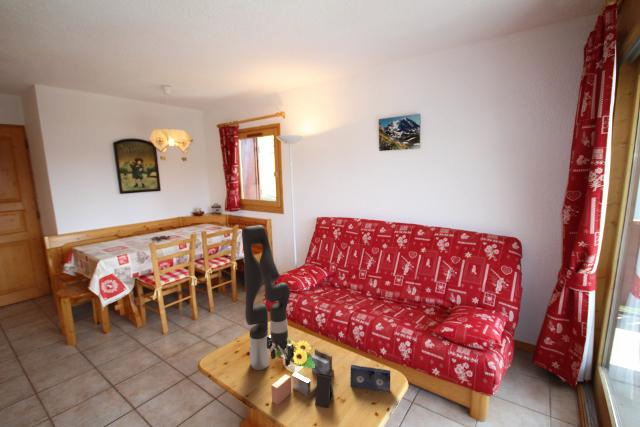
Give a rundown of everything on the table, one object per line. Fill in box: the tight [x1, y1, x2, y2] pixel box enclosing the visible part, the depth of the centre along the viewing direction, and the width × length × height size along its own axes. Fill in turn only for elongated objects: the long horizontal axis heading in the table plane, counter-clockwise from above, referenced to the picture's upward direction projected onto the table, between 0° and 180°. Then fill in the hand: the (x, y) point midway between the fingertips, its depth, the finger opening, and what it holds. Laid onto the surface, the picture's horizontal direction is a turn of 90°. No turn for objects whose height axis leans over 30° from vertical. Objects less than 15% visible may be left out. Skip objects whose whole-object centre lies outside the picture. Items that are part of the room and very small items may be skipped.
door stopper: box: [314, 373, 334, 408], centre depth 135 cm, size 9×6×12 cm, turn 163°
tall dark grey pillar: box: [306, 348, 335, 400], centre depth 146 cm, size 11×20×10 cm, turn 143°
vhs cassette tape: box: [349, 364, 391, 393], centre depth 141 cm, size 18×3×10 cm, turn 74°
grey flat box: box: [292, 372, 312, 397], centre depth 140 cm, size 9×2×7 cm, turn 54°
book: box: [270, 374, 292, 406], centre depth 137 cm, size 4×9×8 cm, turn 143°
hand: (280, 361), depth 135 cm, fingers open, 8 cm apart
